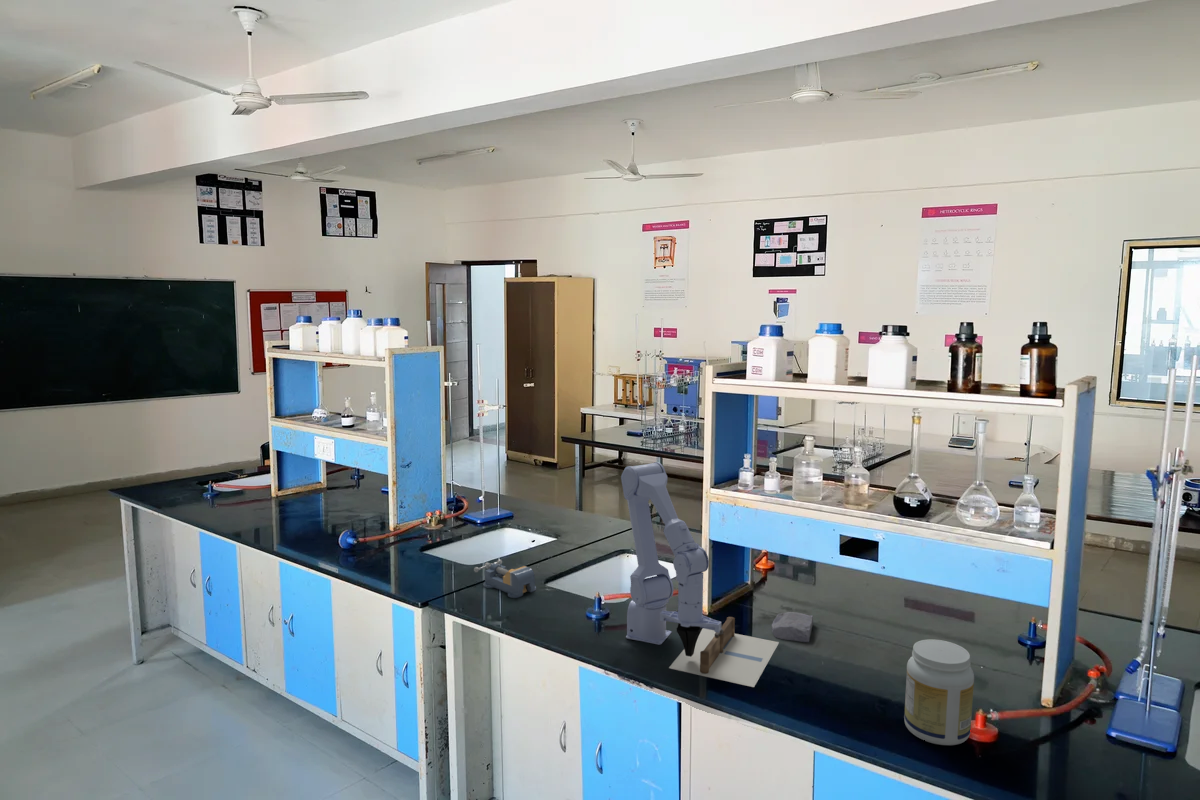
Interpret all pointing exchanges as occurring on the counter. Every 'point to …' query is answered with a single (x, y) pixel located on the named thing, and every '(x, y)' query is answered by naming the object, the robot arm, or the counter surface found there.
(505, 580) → the vise
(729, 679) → the board
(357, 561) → the counter surface
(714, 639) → the swing rail
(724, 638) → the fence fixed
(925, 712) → the supplement tub
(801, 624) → the stone block
